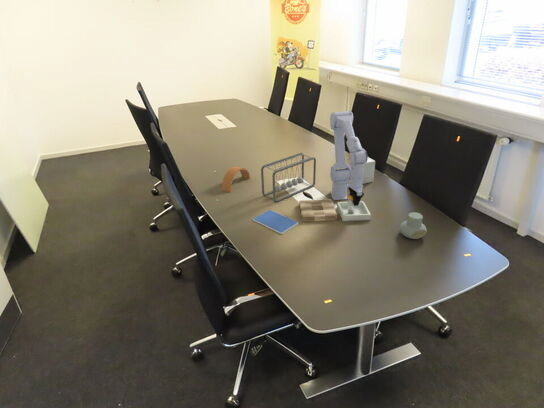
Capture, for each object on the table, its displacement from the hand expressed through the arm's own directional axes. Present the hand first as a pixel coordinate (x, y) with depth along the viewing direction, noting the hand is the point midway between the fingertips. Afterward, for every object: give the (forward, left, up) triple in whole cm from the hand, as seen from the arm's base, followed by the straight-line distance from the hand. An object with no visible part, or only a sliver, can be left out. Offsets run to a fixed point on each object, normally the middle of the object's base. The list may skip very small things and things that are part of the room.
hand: (354, 202), depth 169 cm
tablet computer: (+4, -38, -7) cm, 39 cm away
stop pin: (0, -1, -6) cm, 6 cm away
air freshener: (+20, +21, -7) cm, 30 cm away
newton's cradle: (-27, -29, -7) cm, 40 cm away
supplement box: (-36, +15, -7) cm, 40 cm away
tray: (0, 0, -6) cm, 6 cm away
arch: (-38, -58, -7) cm, 70 cm away
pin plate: (-3, -17, -6) cm, 18 cm away
